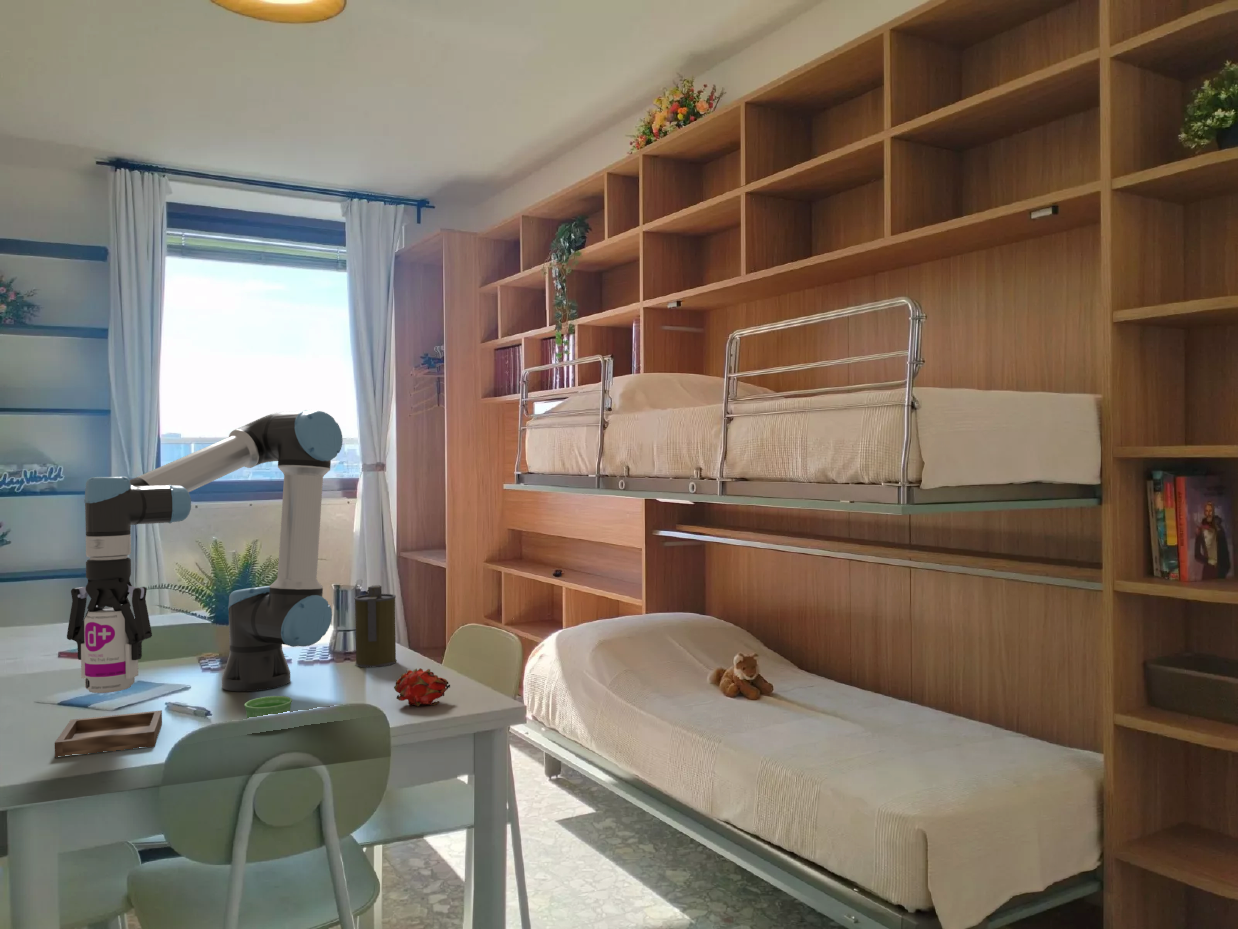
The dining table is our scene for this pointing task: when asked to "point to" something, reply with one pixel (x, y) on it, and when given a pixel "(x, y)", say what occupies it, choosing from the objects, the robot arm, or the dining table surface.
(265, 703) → the ramekin
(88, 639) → the supplement can
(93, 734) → the walnut tray
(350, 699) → the dining table surface
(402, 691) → the dragon fruit
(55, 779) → the dining table surface
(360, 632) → the canister
